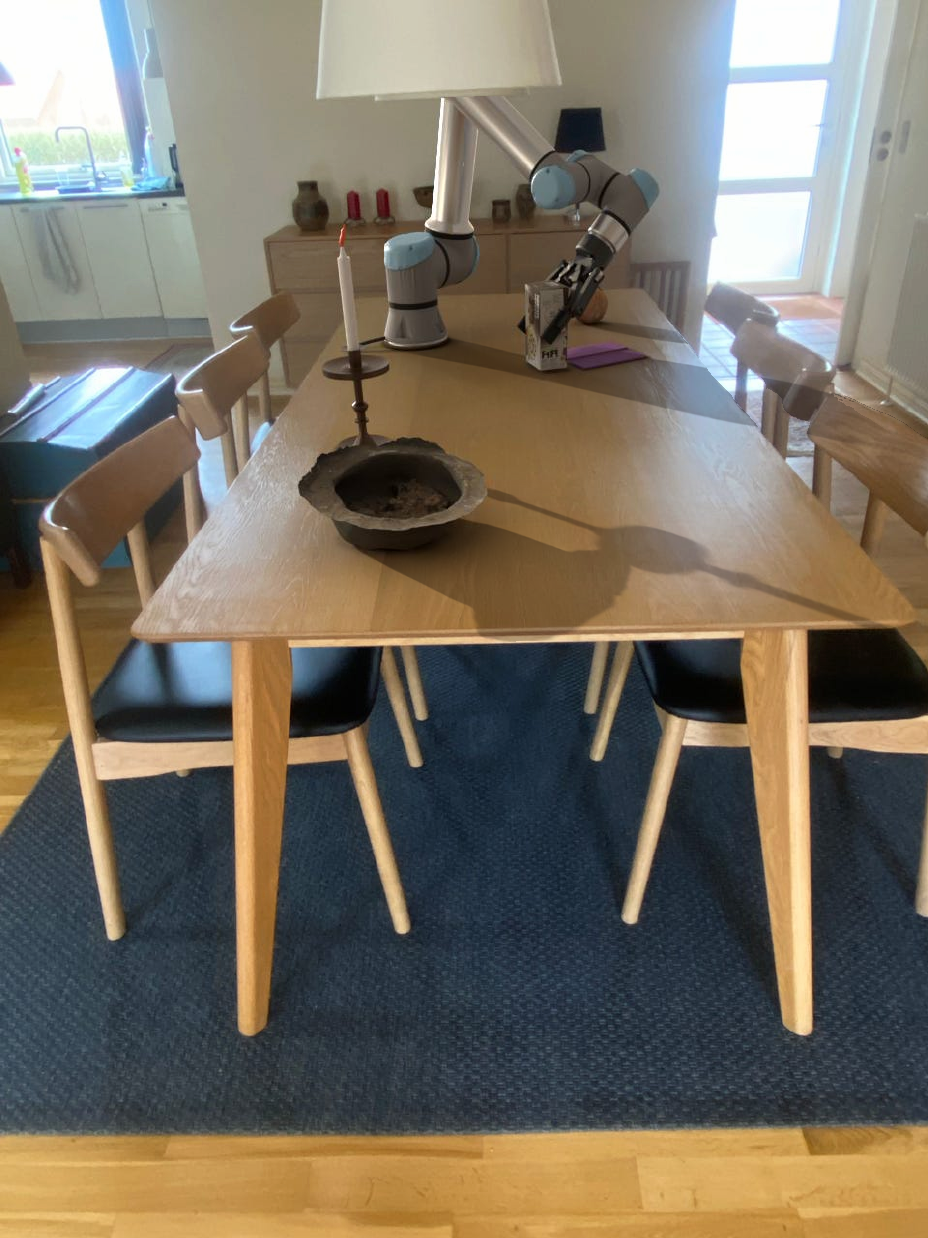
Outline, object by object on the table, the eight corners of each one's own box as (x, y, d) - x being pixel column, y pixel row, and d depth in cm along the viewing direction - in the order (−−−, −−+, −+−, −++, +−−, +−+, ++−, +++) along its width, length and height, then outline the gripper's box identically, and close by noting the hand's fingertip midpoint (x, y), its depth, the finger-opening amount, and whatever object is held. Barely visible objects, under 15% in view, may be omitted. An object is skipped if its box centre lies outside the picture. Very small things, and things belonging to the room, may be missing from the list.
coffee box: (568, 367, 173) (570, 286, 164) (539, 371, 171) (540, 290, 163) (552, 356, 180) (553, 278, 171) (524, 360, 179) (524, 281, 170)
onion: (591, 330, 212) (601, 290, 210) (609, 327, 204) (619, 286, 202) (559, 320, 209) (569, 279, 207) (576, 317, 200) (586, 274, 198)
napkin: (584, 369, 174) (584, 366, 173) (550, 354, 184) (550, 351, 184) (646, 357, 179) (647, 354, 179) (610, 343, 190) (610, 340, 189)
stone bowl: (330, 488, 126) (326, 430, 121) (491, 500, 125) (495, 442, 120) (284, 565, 105) (277, 499, 100) (477, 581, 104) (481, 514, 99)
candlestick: (391, 434, 146) (371, 216, 127) (401, 456, 137) (380, 226, 118) (330, 441, 144) (300, 222, 125) (336, 464, 135) (304, 231, 116)
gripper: (643, 264, 162) (572, 358, 165) (581, 249, 179) (518, 335, 182) (622, 237, 157) (550, 335, 160) (561, 225, 174) (497, 313, 177)
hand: (533, 335), depth 171 cm, fingers closed on coffee box, 9 cm apart
